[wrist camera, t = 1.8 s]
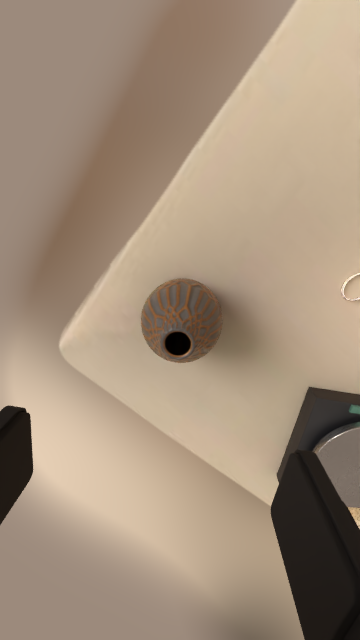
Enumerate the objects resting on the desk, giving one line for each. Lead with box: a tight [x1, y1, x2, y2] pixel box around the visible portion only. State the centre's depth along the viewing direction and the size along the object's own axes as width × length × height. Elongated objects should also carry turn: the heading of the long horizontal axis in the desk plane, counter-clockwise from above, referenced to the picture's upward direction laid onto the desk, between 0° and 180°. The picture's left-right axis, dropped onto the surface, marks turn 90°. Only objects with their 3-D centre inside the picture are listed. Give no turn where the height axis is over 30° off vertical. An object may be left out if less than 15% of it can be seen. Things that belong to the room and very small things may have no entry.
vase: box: [141, 279, 222, 363], centre depth 22 cm, size 7×7×9 cm
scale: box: [277, 387, 360, 483], centre depth 29 cm, size 13×13×2 cm
